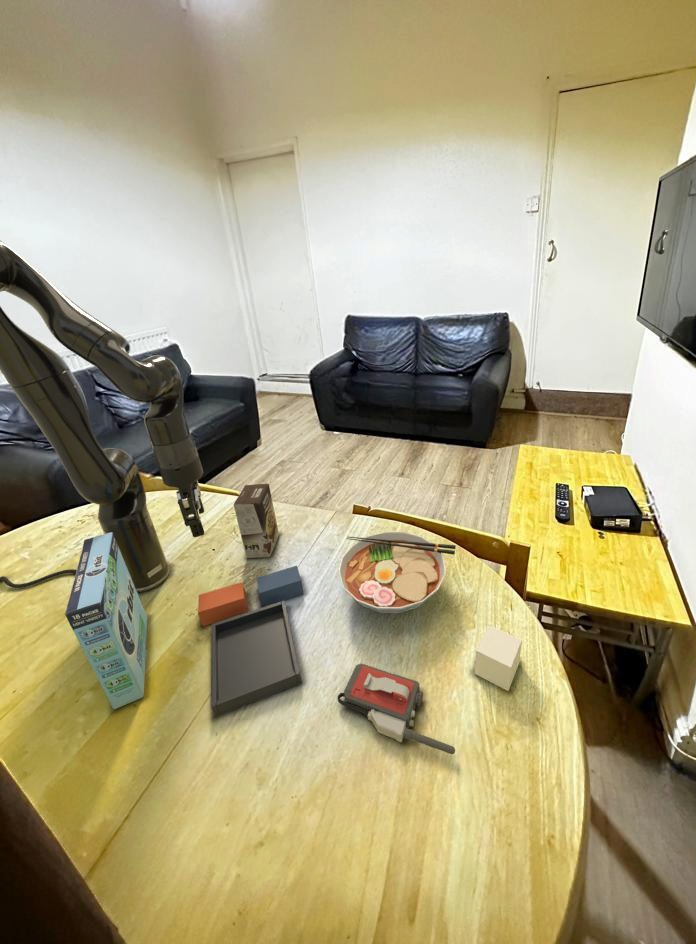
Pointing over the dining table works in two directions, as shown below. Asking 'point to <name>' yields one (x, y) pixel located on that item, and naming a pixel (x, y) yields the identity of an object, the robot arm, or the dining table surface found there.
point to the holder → (252, 657)
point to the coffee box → (256, 520)
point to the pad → (222, 603)
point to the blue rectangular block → (279, 586)
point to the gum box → (109, 620)
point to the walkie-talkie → (387, 703)
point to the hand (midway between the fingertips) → (199, 523)
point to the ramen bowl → (393, 571)
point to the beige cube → (498, 657)
